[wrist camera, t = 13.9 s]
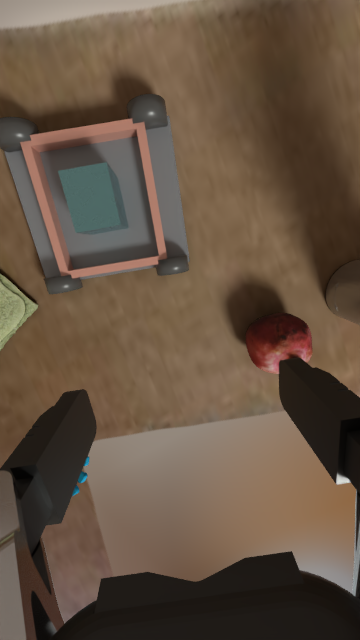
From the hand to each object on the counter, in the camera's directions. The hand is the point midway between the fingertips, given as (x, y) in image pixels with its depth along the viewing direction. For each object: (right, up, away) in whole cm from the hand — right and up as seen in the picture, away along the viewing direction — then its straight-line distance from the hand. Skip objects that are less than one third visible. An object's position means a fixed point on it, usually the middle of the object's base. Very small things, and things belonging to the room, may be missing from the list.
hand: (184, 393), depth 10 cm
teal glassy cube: (-10, +18, +21) cm, 29 cm away
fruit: (+14, +1, +30) cm, 33 cm away
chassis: (-10, +18, +23) cm, 31 cm away
